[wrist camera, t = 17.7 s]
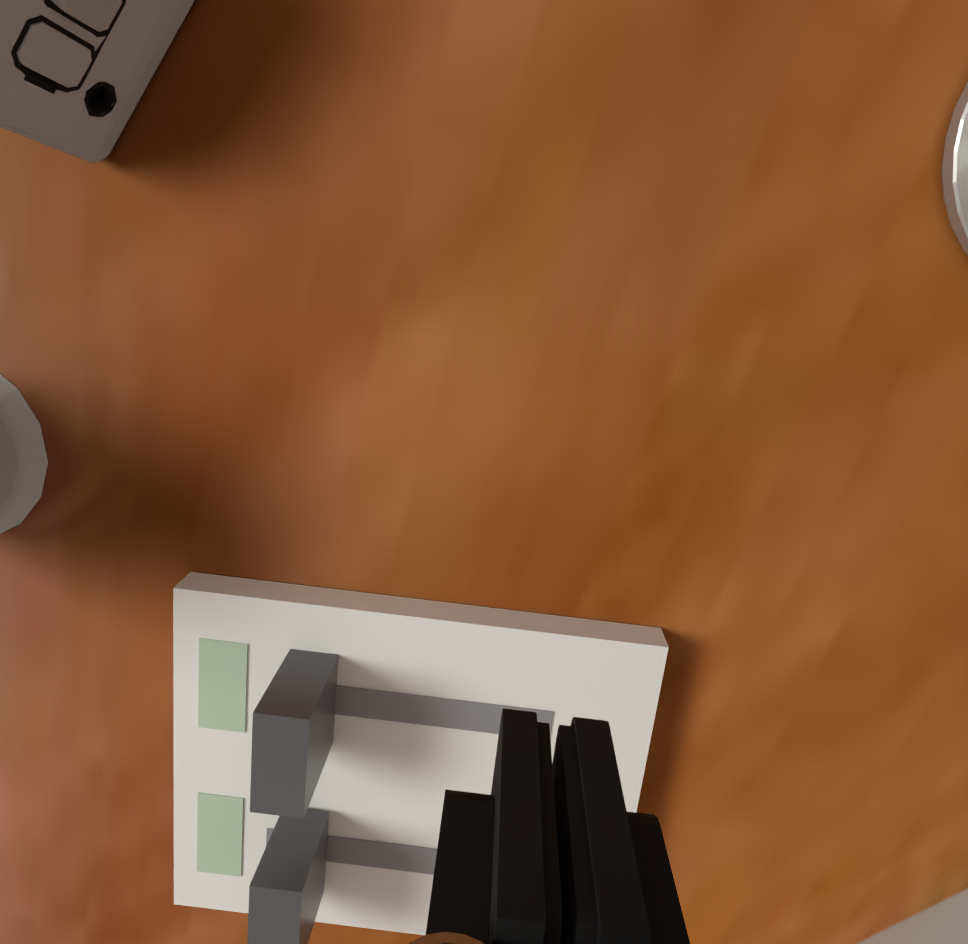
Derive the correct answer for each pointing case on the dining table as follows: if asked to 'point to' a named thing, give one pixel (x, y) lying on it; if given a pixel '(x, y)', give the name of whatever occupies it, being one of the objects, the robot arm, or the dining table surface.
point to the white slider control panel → (370, 727)
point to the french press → (19, 457)
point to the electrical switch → (80, 67)
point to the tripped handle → (289, 881)
